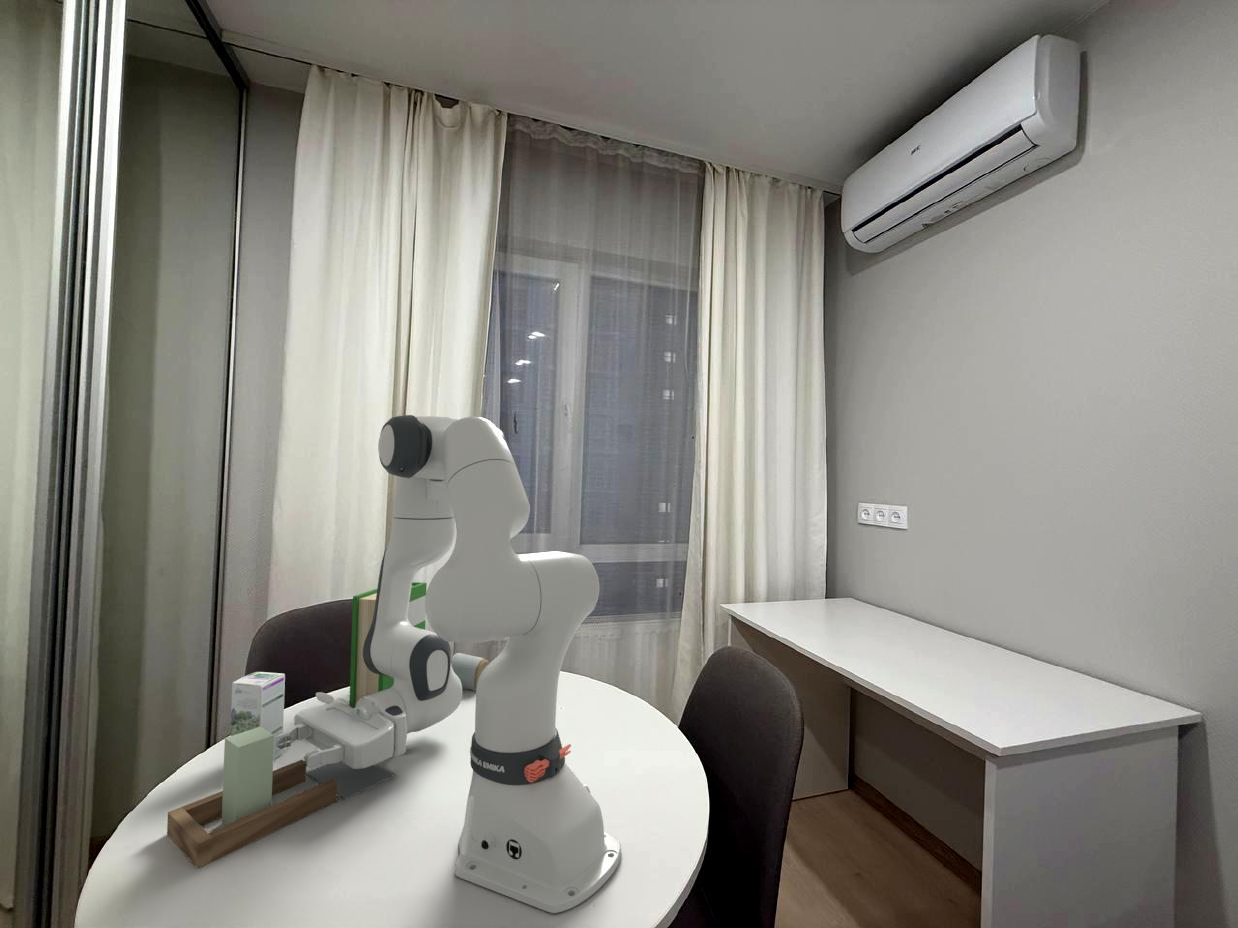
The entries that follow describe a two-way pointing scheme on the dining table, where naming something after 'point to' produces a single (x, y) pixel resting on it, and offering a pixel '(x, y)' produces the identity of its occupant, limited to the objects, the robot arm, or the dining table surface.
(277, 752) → the syrup box
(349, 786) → the mat
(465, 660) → the ceramic mug
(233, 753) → the sage block
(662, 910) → the dining table surface
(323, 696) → the rabbit figurine
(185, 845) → the frame
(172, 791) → the dining table surface
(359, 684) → the hardback book
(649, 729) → the dining table surface
